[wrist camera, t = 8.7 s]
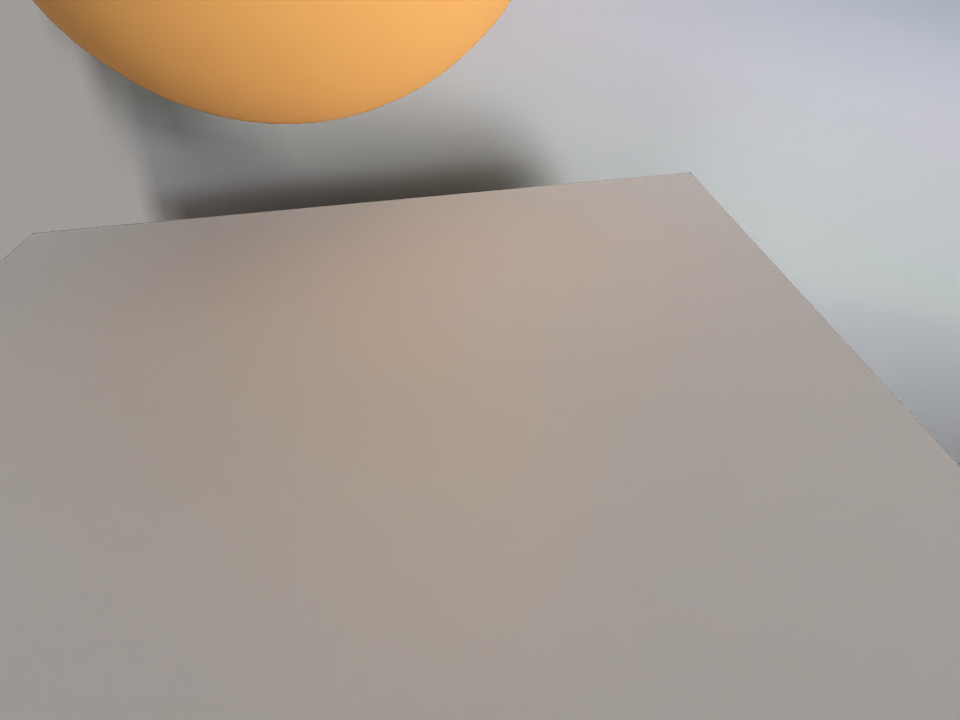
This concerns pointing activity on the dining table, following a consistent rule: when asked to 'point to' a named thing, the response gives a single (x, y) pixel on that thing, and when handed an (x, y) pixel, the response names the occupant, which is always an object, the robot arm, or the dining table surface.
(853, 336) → the dining table surface
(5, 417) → the plain white closed box
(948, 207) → the dining table surface
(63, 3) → the ball
